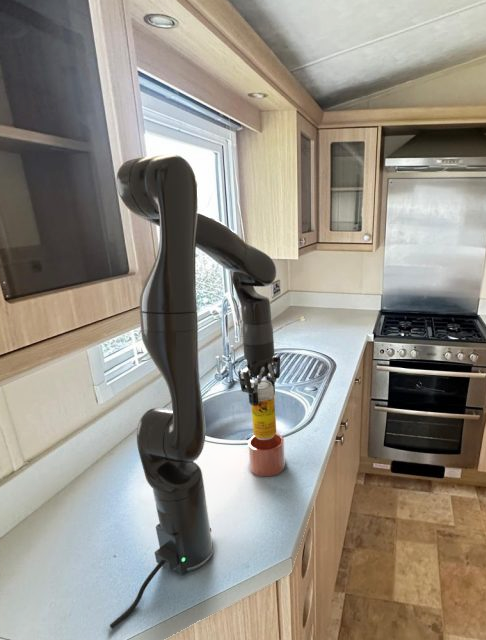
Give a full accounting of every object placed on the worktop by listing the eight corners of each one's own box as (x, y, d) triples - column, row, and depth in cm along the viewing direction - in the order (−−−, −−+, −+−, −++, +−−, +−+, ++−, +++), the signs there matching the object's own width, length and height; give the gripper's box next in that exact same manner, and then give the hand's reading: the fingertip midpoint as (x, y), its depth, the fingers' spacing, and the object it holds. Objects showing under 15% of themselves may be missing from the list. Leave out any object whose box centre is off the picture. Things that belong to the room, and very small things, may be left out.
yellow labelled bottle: (255, 442, 107) (251, 390, 101) (252, 431, 112) (248, 381, 107) (278, 439, 108) (275, 387, 103) (274, 428, 114) (271, 378, 108)
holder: (270, 480, 108) (268, 454, 105) (243, 469, 112) (240, 444, 110) (291, 462, 115) (290, 437, 112) (265, 452, 120) (263, 429, 117)
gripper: (264, 329, 108) (268, 387, 114) (226, 344, 97) (232, 407, 103) (287, 333, 104) (290, 393, 110) (250, 349, 93) (255, 414, 99)
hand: (262, 399), depth 106 cm, fingers closed on yellow labelled bottle, 6 cm apart
